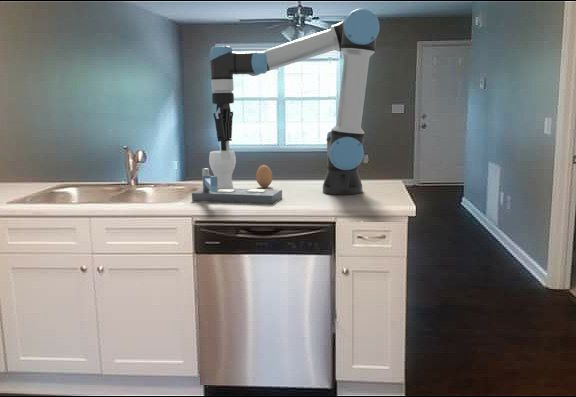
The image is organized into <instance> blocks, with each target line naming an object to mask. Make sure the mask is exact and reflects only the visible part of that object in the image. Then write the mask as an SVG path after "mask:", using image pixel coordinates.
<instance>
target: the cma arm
mask: <svg viewBox="0 0 576 397" xmlns="http://www.w3.org/2000/svg"><path fill="white" fill-rule="evenodd" d="M203 187H208V188H209V190H210V191H211V192H218V183H217V176H214V175H211V174H209V175H203V177H202V188H203Z"/></svg>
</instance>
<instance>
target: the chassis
mask: <svg viewBox="0 0 576 397" xmlns="http://www.w3.org/2000/svg"><path fill="white" fill-rule="evenodd" d="M201 174H202V175H201V176H202V178H203V175H210V169H209V168H207V167H205V168H202V169H201ZM281 198H282V199H283V190H282V189H266V188H265V189H262V188H236V187H235V188H234V187H233V188H218V192H211V191H210V190H209V188H208V187H203V186H202V188H200V189H199V190H196V191H193V192H191V200H192V202H198V201H208V202H207V203H226V204H228V203H229V204H250V205H251V204H256V205H257V204H258V205H259V204H260V205H273V203H274V204H275V203H277V202H279V199H280V200H282V199H281ZM276 201H277V202H276Z"/></svg>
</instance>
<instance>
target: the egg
mask: <svg viewBox="0 0 576 397" xmlns="http://www.w3.org/2000/svg"><path fill="white" fill-rule="evenodd" d="M255 179H256V182H257V185H259V186H260V187H262V188H267V187H269V186H270V185H271V183H272V181H273V172H272V170H271V168H270V167H269V166H268V165H266V164H262V165H259V167H258V168H257V171H256V175H255Z"/></svg>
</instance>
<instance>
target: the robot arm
mask: <svg viewBox="0 0 576 397" xmlns="http://www.w3.org/2000/svg"><path fill="white" fill-rule="evenodd" d="M379 33H380V21H379V19H378V17H377V15H376V14H375V13H374V12H373V11H372V10H369V9H365V8H357V9H354V10H352V11H351V12H349V13H348V14H347V15H346V17H345V18H344V20H342V21H341V22H338V23H336V24H332V25H331V26H330V27H329V29H326V30H323V31H320V32H316V33H313V34H311V35H308V36H304V37H301V38H298V39H295V40H292V41H289V42H285V43H283V44H281V45H277V46H273V47H271V48H267V49H264V50H262V51H258V50H256V51H233V48H232V47H231V46H229V45H218V46H217V45H215V46H212V47H211V48H210V54H209V56H210V59H209V64H210V75H211V76H210V77H211V81H210V86H211V91H212V92H213V93H212V94H211V100H212V104H213V105H216V111H215V112H213V114H212V115H213V119H214V122H215V123H214V124H215V131H216V137H217V138H216V139H217V142H220V151H221V160H230V151H231V150H230V142H232V138H233V136H232V135H233V133H232V132H233V117H234V111H231V105H230V104H234V103H235V97H234V95H235V94H234V92H233V91H234V75H249V76H252V77H255V76H259V75H263V74H266V73H267V72H269V71H272V70H275V69H279V68H282V67H286V66H288V65H292V64H295V63H298V62H301V61H304V60H309V59H311V58H315V57H317V56H321V55H324V54H327V53H330V52H333V51H337V52H339V53H340V52H342V53H343V55H344V56H343V65H342V74H341V82H340V92H339V100H338V101H339V102H338V108H337V109H338V110H337V117H336V124H335V126H334V127H333V128H331V131H328V132H327V134H326V145H327V146H326V167H327V168H326V173H325V174H326V175H325V178H324V180H323V184H322V192H323V193H325V194H329V195H337V196H338V195H339V196H340V195H341V196H344V195H356V194H361V193H362V192H363V183H362V181H361V178H360V174H359V165H360V164H361V163H362V161H363V159H364V155H365V151H364V141H365V131H364V130H363V129H362V121H363V120H362V119H363V114H364V104H365V97H366V89H367V81H368V80H367V79H368V72H369V64H370V57H372V56H373V55H374V54H375V53H376V52H375V51H376V45H377V44H376V43H377V37H378V36H379Z"/></svg>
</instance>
